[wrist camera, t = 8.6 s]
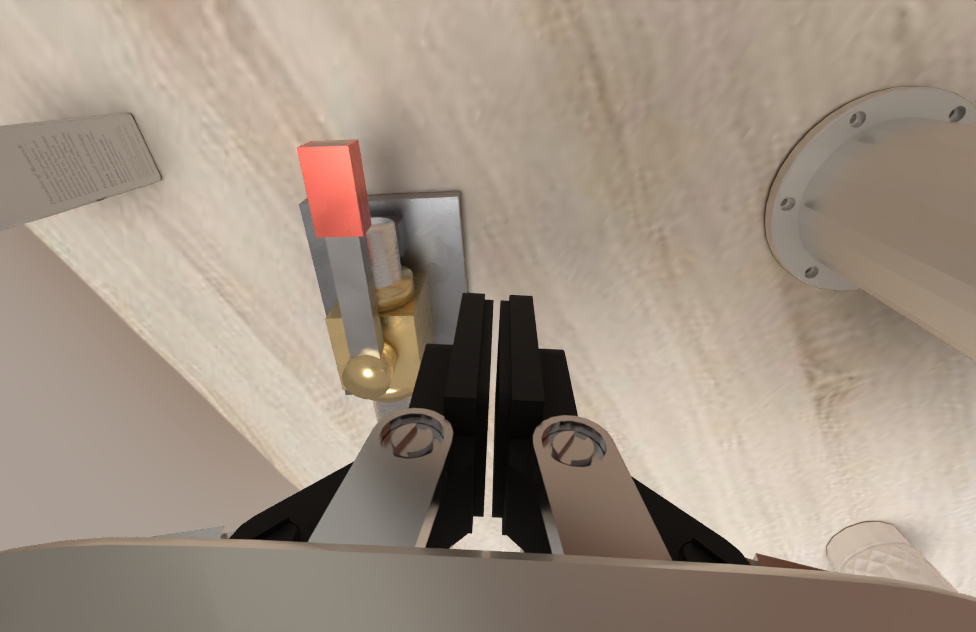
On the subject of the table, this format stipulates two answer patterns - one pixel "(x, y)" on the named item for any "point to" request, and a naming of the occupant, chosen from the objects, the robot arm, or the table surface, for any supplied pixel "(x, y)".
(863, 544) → the white cup
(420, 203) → the valve manifold
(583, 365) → the table surface
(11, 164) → the skincare box
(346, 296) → the valve lever
